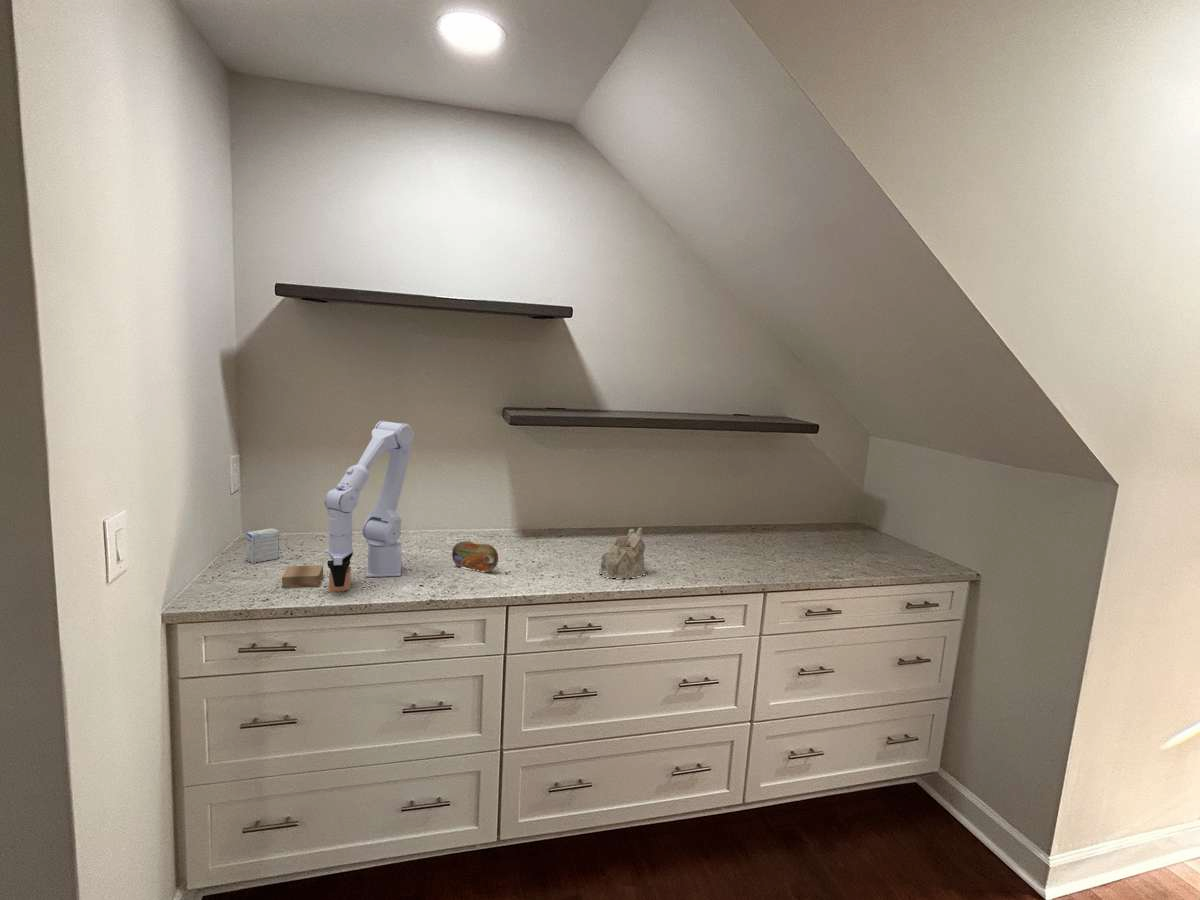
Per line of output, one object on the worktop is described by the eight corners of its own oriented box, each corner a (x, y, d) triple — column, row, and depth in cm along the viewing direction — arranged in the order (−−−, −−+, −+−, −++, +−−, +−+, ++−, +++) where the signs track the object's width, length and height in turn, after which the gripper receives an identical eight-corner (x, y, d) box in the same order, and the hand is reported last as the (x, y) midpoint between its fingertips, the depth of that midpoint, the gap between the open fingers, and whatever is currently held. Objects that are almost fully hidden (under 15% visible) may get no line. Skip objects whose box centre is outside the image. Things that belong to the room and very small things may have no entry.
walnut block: (323, 575, 179) (323, 565, 178) (318, 586, 170) (318, 575, 170) (288, 576, 176) (288, 566, 176) (282, 588, 167) (282, 577, 167)
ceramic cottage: (633, 561, 209) (634, 517, 206) (652, 579, 194) (654, 533, 191) (588, 566, 204) (589, 521, 201) (604, 585, 189) (605, 537, 186)
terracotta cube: (351, 584, 173) (351, 566, 173) (349, 590, 169) (349, 572, 168) (331, 584, 172) (331, 567, 171) (329, 591, 167) (329, 573, 166)
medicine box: (273, 555, 193) (273, 527, 192) (280, 558, 190) (279, 530, 189) (245, 560, 187) (245, 532, 186) (252, 564, 184) (252, 535, 183)
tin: (451, 566, 193) (451, 540, 192) (457, 563, 196) (457, 537, 195) (493, 575, 187) (494, 547, 186) (499, 572, 190) (500, 545, 189)
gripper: (327, 526, 174) (327, 574, 176) (320, 541, 160) (320, 592, 162) (355, 526, 176) (354, 573, 178) (350, 541, 162) (350, 591, 164)
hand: (340, 582), depth 170 cm, fingers closed on terracotta cube, 5 cm apart
